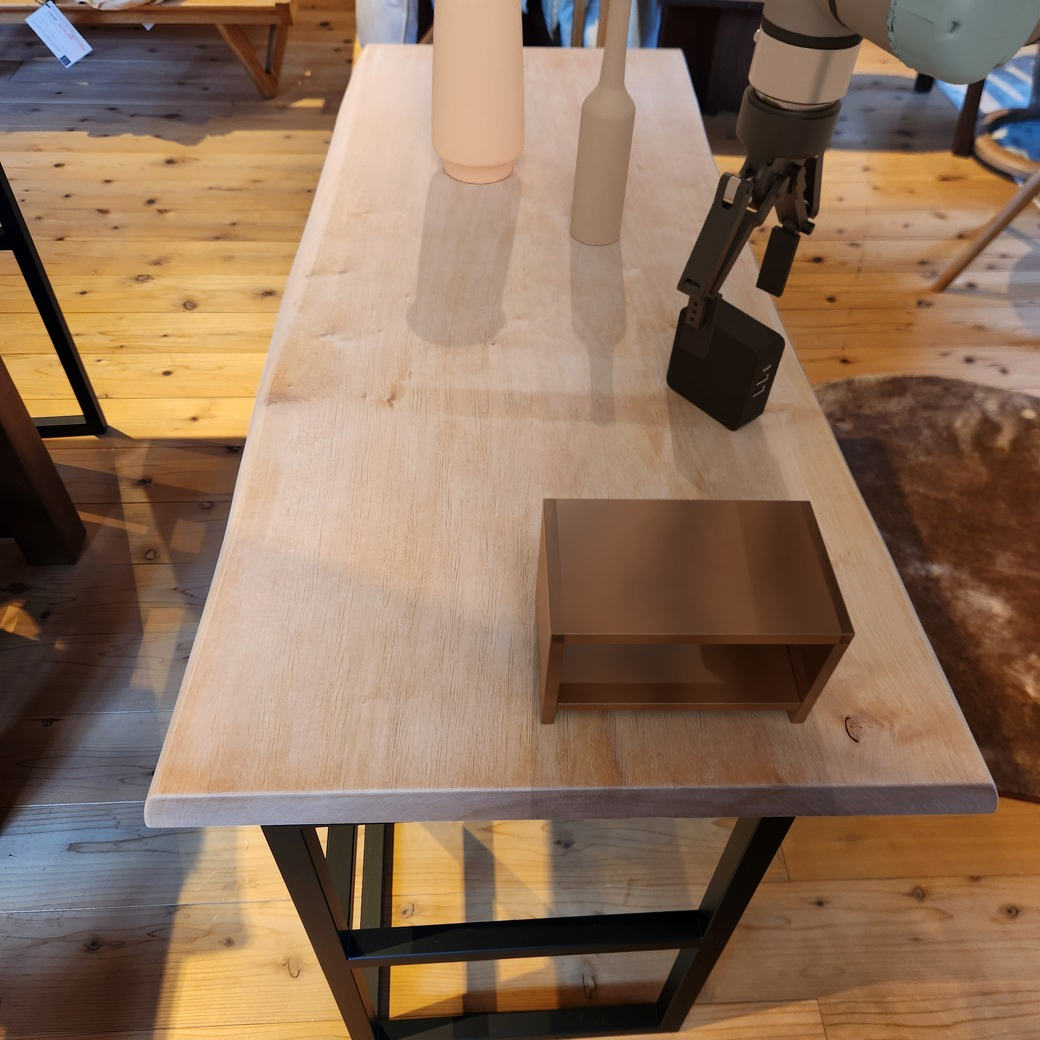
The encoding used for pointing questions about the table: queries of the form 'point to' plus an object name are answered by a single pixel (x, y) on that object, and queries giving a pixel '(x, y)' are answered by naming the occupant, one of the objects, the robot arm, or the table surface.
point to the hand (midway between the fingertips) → (732, 319)
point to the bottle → (605, 141)
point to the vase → (478, 88)
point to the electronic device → (728, 367)
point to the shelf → (685, 606)
